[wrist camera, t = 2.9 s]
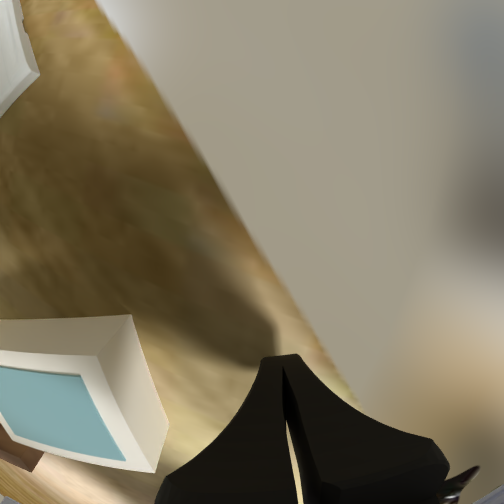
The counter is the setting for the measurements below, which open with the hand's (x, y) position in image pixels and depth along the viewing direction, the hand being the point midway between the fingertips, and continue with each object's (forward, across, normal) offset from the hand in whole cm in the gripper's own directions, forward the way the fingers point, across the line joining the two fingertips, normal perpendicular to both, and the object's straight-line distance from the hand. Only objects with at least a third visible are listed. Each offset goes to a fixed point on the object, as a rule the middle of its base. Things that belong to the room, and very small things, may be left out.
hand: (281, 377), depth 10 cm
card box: (+1, +10, 0) cm, 10 cm away
